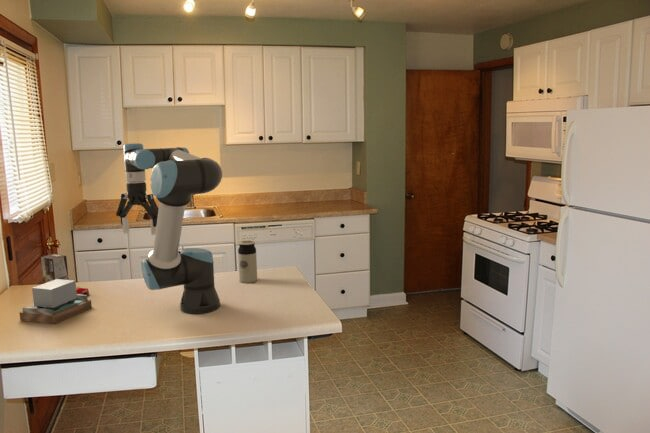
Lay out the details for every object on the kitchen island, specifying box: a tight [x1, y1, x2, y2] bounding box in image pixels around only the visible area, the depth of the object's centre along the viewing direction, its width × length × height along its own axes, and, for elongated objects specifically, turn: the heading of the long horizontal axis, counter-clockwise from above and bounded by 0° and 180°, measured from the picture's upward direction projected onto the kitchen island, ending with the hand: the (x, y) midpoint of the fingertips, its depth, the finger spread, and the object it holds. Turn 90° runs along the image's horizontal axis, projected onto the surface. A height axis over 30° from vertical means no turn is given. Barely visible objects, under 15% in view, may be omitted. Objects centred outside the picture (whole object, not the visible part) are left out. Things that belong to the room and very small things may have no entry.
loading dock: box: [18, 294, 93, 325], centre depth 211 cm, size 16×19×5 cm
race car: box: [76, 287, 90, 296], centre depth 230 cm, size 13×5×4 cm, turn 156°
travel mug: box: [237, 239, 258, 284], centre depth 249 cm, size 8×8×18 cm
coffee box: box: [40, 253, 70, 284], centre depth 237 cm, size 9×6×16 cm
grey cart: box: [31, 279, 77, 310], centre depth 210 cm, size 9×12×8 cm
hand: (140, 233), depth 226 cm, fingers open, 13 cm apart
